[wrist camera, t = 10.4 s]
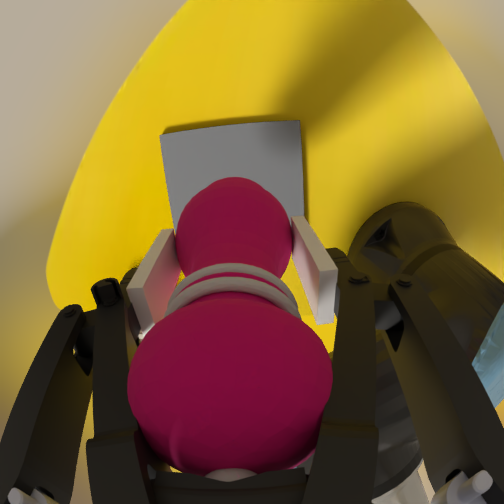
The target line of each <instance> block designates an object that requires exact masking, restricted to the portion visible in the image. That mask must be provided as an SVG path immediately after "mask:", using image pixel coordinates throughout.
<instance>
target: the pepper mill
mask: <svg viewBox="0 0 504 504" xmlns="http://www.w3.org/2000/svg"><path fill="white" fill-rule="evenodd" d="M292 245H293V239H292V229H291V225H290V221H289V218H288V215H287V213H286V211H285V209H284V208H283V206H282V204H281V203H280V202H279V201H278V200H277V198H275V197H274V196H273V195H272V194H271V193H270V192H268V191H267V190H265V189H264V188H263V187H262V186H260V185H259V184H258V183H256V182H254V181H252V180H250V179H247V178H242V177H227V178H223V179H220V180H217V181H215V182H213V183H211V184H210V185H209V186H207V187H206V188H205V189H203V190H201V191H200V192H198V193H197V194H196V195H195V196H193V197H192V199H191V200H190V201H189V202H188V203H187V205H186V206H185V208H184V209H183V211H182V213H181V216H180V218H179V221H178V225H177V230H176V234H175V247H176V252H177V258H178V262H179V265H180V268H181V270H182V272H183V273H184V275H185V277H186V278H185V279H183V280H182V281H181V282H180V283H179V285H178V286H177V287H176V288H175V290H174V292H173V293H172V295H171V297H170V299H169V301H168V306H167V310H166V312H165V314H164V318H163V319H162V320H160V321H159V322H157V323H156V324H155V325H154V326H153V327H152V328H151V329H150V330H149V331H148V332H147V333H146V335H145V336H144V338H143V340H142V341H141V343H140V345H139V346H138V348H137V350H136V352H135V354H134V357H133V359H132V361H131V365H130V370H129V374H128V382H127V394H128V401H129V404H130V407H131V410H132V412H133V415H134V416H135V417H136V419H137V421H138V424H139V426H140V428H141V431H142V433H143V435H144V437H145V439H146V441H147V442H148V444H149V445H150V447H151V449H152V450H153V451H154V452H155V454H156V455H157V456H158V457H159V459H161V460H162V461H163V462H165V463H166V464H168V465H169V466H171V467H173V468H175V469H177V470H179V471H181V472H182V473H191V474H195V475H199V476H203V477H207V478H211V479H216V480H220V481H225V482H231V481H235V480H239V479H243V478H246V477H250V476H254V475H257V474H260V473H264V472H267V471H277V470H286V469H293V468H295V467H296V466H298V465H300V464H301V463H303V462H304V461H306V460H307V459H308V458H309V457H310V456H311V455H312V454H313V453H314V452H315V449H316V445H317V441H318V436H319V432H320V427H321V422H322V417H323V412H324V407H325V405H326V403H327V401H328V399H329V397H330V393H331V388H332V383H333V371H332V361H331V359H330V357H329V354H328V352H327V350H326V348H325V346H324V344H323V342H322V340H321V339H320V338H319V337H318V335H317V334H316V333H315V332H314V331H313V330H312V329H311V328H310V327H309V326H308V325H306V324H305V323H304V322H303V321H302V320H301V316H300V314H299V312H298V306H297V303H296V300H295V298H294V296H293V294H292V292H291V291H290V289H289V288H288V287H287V285H286V284H285V283H284V282H282V281H281V280H280V278H281V277H282V275H283V274H284V272H285V270H286V268H287V265H288V263H289V259H290V256H291V251H292Z"/></svg>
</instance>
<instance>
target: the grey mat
mask: <svg viewBox="0 0 504 504" xmlns="http://www.w3.org/2000/svg"><path fill="white" fill-rule="evenodd" d="M160 143H161V150H162V157H163V164H164V171H165V177H166V184H167V190H168V196H169V202H170V207H171V213H172V218H173V224H174V229H175V234H176V230H177V225H178V221H179V218H180V216H181V213H182V211H183V209H184V208H185V206H186V205H187V203H188V202H189V201H190V200H191V199H192V197H193V196H195V195H196V194H197V193H198V192H200V191H201V190H203V189H205V188H206V187H207V186H209V185H210V184H211V183H213V182H215V181H217V180H220V179H223V178H227V177H242V178H247V179H250V180H252V181H254V182H256V183H258V184H259V185H260V186H262V187H263V188H264V189H265V190H267V191H268V192H270V193H271V194H272V195H273V196H274V197H275V198H277V200H278V201H279V202H280V203H281V204H282V206H283V208H284V209H285V211H286V213H287V215H288V218H289V221H290V225H291V216H304V193H303V167H302V147H301V130H300V120H294V121H272V122H257V123H244V124H234V125H224V126H216V127H208V128H200V129H193V130H187V131H180V132H174V133H168V134H163V135H160Z"/></svg>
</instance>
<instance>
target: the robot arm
mask: <svg viewBox="0 0 504 504" xmlns="http://www.w3.org/2000/svg"><path fill="white" fill-rule="evenodd" d="M291 229H292V239H293V245H292V259H293V261H294V264H295V267H296V269H297V272H298V275H299V277H300V280H301V283H302V285H303V288H304V291H305V293H306V296H307V299H308V302H309V304H310V307H311V310H312V313H313V315H314V318H315V321H316V324H317V325H320V324H326V323H333V321H334V313H335V315H336V317H337V327H336V335H335V342H334V350H333V351H332V352H330V353H328V354H329V357H330V359H331V361H332V371H333V383H332V388H331V393H330V397H329V399H328V401H327V403H326V405H325V407H324V412H323V417H322V422H321V427H320V432H319V436H318V441H317V445H316V449H315V452H314V453H313V454H312V455H311V456H310V457H309V458H308V459H307V460H306V461H304V462H303V463H301V464H300V465H298V466H296V467H295V468H293V469H286V470H277V471H267V472H264V473H260V474H257V475H254V476H250V477H246V478H243V479H239V480H235V481H231V482H225V481H220V480H216V479H211V478H207V477H203V476H199V475H195V474H191V473H178V472H172V471H171V469H170V466H169V465H168V464H166V463H165V462H163V461H162V460H161V459H159V457H158V456H157V455H156V454H155V452H154V451H153V450H152V449H151V447H150V445H149V444H148V442H147V441H146V439H145V437H144V435H143V433H142V431H141V428H140V426H139V424H138V421H137V419H136V417H135V416H134V415H133V412H132V410H131V407H130V404H129V401H128V394H127V382H128V374H129V370H130V365H131V361H132V359H133V357H134V354H135V352H136V350H137V348H138V346H139V345H140V343H141V341H140V339H139V336H138V335H139V333H140V330H141V331H142V333H143V336H145V335H146V333H147V332H148V331H149V330H150V329H151V328H152V327H153V326H154V325H155V324H156V323H157V322H159V321H160V320H162V319H163V318H164V314H165V312H166V310H167V306H168V301H169V299H170V297H171V295H172V293H173V292H174V290H175V287H176V284H177V281H178V278H179V275H180V272H181V268H180V265H179V262H178V258H177V252H176V247H175V234H174V229H165V230H161V232H160V233H159V235H158V236H157V238H156V239H155V241H154V243H153V244H152V246H151V247H150V249H149V251H148V252H147V254H146V256H145V257H144V259H143V261H142V262H141V264H140V266H139V267H138V268H132V269H131V270H129V271H128V272H127V273H126V274H125V276H124V277H123V280H121V282H120V284H119V283H118V280H117V279H115V278H106V279H103V280H100V281H98V282H97V283H95V284H94V285H93V286H92V288H91V292H92V294H93V297H94V299H95V302H96V304H97V309H95V310H91V311H87V312H83V310H82V307H81V306H80V305H78V304H73V305H68V306H66V307H64V309H62V310H61V311H60V312H59V314H58V315H57V317H56V319H55V320H54V322H53V324H52V326H51V328H50V330H49V331H48V333H47V335H46V337H45V339H44V341H43V343H42V345H41V346H40V348H39V350H38V352H37V354H36V356H35V358H34V361H33V362H32V364H31V366H30V369H29V371H28V373H27V375H26V377H25V379H24V382H23V384H22V386H21V388H20V391H19V393H18V396H17V398H16V401H15V403H14V405H13V408H12V411H11V413H10V416H9V419H8V421H7V424H6V427H5V430H4V433H3V436H2V439H1V442H0V504H69V503H70V500H71V496H72V491H73V486H74V478H75V471H76V464H77V459H78V453H79V447H80V442H81V437H82V432H83V428H84V423H85V419H86V414H87V410H88V406H89V402H90V398H91V394H92V390H93V420H94V438H93V439H88V440H87V442H86V455H87V466H88V475H89V483H90V490H91V496H92V502H93V504H429V501H428V498H427V495H426V493H425V490H424V487H423V484H422V481H421V479H420V476H419V474H418V471H417V470H418V468H419V467H420V465H421V464H422V462H423V460H424V464H425V468H426V471H427V475H428V478H429V480H430V482H431V485H432V487H433V489H434V491H435V495H434V496H433V498H432V501H431V504H504V428H503V426H502V424H501V421H500V419H499V417H498V415H497V412H496V410H495V407H496V406H497V405H498V404H499V403H500V402H501V401H502V400H503V399H504V283H503V282H502V281H501V280H500V279H499V278H498V277H496V276H495V275H494V274H493V273H491V272H490V271H489V270H488V269H487V268H485V267H484V266H483V265H482V264H480V263H479V262H478V261H476V260H475V259H474V258H473V257H471V256H470V255H469V254H467V253H466V252H464V251H463V250H462V249H461V248H459V247H458V246H457V244H456V243H455V241H454V239H453V238H452V236H451V235H450V233H449V232H448V230H447V228H446V226H445V224H444V223H443V221H442V220H441V219H440V218H439V217H438V216H437V215H436V214H435V213H434V212H432V211H430V210H429V209H427V208H425V207H424V206H422V205H419V204H417V203H412V202H400V203H395V204H392V205H389V206H387V207H385V208H383V209H381V210H380V211H378V212H377V213H375V214H374V215H373V216H372V217H370V218H369V219H368V220H367V221H366V222H365V223H364V225H363V226H362V227H361V228H360V230H359V231H358V233H357V234H356V236H355V238H354V240H353V242H352V244H351V247H350V249H349V253H348V257H347V256H346V255H345V253H344V252H343V251H341V250H339V249H338V248H328V249H325V248H324V246H323V245H322V243H321V242H320V240H319V238H318V237H317V235H316V234H315V232H314V231H313V229H312V228H311V226H310V225H309V223H308V222H307V220H306V219H305V217H304V216H291ZM73 349H74V350H75V354H73Z"/></svg>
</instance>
